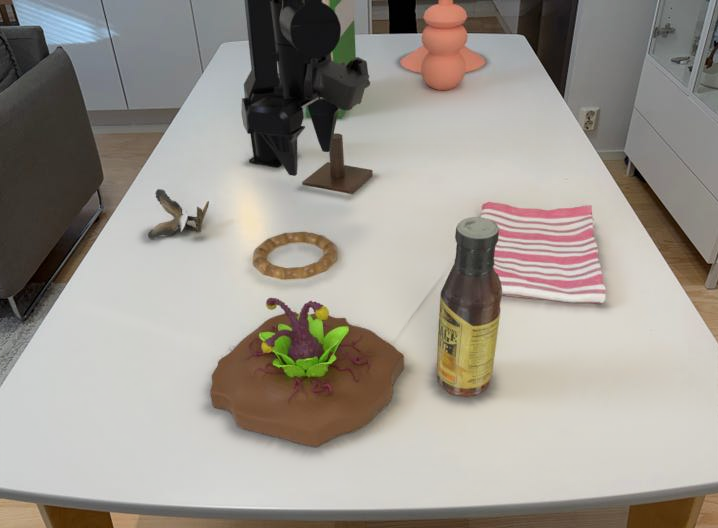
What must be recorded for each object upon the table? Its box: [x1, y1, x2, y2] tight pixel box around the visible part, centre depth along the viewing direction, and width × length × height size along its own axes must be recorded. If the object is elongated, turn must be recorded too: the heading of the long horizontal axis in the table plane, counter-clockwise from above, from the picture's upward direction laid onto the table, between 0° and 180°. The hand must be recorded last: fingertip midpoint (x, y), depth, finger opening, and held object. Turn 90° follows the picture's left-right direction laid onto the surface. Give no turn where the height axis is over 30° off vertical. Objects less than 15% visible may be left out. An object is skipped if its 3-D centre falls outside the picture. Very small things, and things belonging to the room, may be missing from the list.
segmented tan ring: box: [252, 231, 338, 281], centre depth 98 cm, size 12×12×2 cm
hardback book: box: [305, 0, 357, 119], centre depth 143 cm, size 18×7×24 cm, turn 170°
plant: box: [209, 297, 405, 447], centre depth 75 cm, size 20×20×11 cm
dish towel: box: [479, 201, 607, 305], centre depth 97 cm, size 17×23×4 cm
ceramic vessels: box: [400, 0, 486, 91], centre depth 161 cm, size 35×21×19 cm, turn 175°
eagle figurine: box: [147, 188, 210, 239], centre depth 105 cm, size 8×7×9 cm
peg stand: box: [301, 132, 374, 195], centre depth 117 cm, size 9×9×8 cm
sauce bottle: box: [436, 216, 503, 397], centre depth 71 cm, size 6×6×20 cm
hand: (310, 163), depth 95 cm, fingers open, 9 cm apart
